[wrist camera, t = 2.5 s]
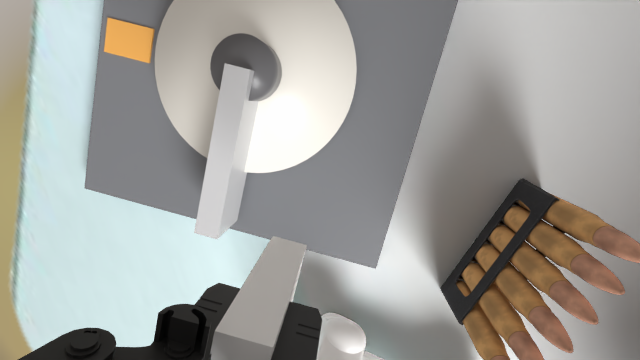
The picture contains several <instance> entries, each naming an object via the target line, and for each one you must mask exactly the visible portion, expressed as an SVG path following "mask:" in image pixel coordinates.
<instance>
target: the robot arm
mask: <svg viewBox="0 0 640 360" xmlns="http://www.w3.org/2000/svg"><path fill="white" fill-rule="evenodd" d="M306 247H307V245H305V244H301V243H297V242H294V241H290V240H286V239H282V238H279V237H275V236H273V237H272V238H271V240H270V242H269V243H268V245H267V246H266V248H265V250H264V251H263V253H262V255H261V256H260V258H259V260H258V261H257V263H256V264H255V266H254V268H253V269H252V271H251V273H250V274H249V276H248V277H247V279H246V281H245V282H244V284H243V286H242V287H241V289H239V288H236V287H232V286H229V285H225V284H221V283H218V284H216V285H214V286H212V287H210V288H208V289H207V290H206V291H205V292H204V294H203V295H202V296H201V297H200V299H199V300H198V301H197V302H196V304H195V305H190V304H177V305H173V306H170V307H166V308H165V309H163V310H162V311H160V312H159V313H158V319H157V325H156V331H155V337H154V342H153V343H152V344H151V345H150V346H146V347H116V341H115V337H114V336H113V335H112V334H111V333H110V332H109V331H106V330H103V329H100V328H83V329H78V330H74V331H71V332H69V333H66V334H64V335H62V336H60V337H58V338H56V339H55V340H53V341H51V342H49V343H47V344H46V345H44V346H42V347H40V348H38V349H37V350H35V351H33V352H31V353H29V354H27V355H26V356H24V357H22V358H20V359H19V360H316V359H317V352H318V345H319V338H320V331H321V325H322V318H321V315H320V313H319V311H318V309H316V308H312V307H309V306H305V305H301V304H298V303H294V302H293V298H294V294H295V290H296V286H297V282H298V278H299V275H300V271H301V267H302V263H303V259H304V255H305V251H306Z"/></svg>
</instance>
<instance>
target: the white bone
mask: <svg viewBox="0 0 640 360" xmlns="http://www.w3.org/2000/svg"><path fill="white" fill-rule="evenodd" d="M321 318H322V325H321V331H320V338H319V345H318V352H317V359H316V360H384V359H382V358H380V357H378V356H376V355H373V354H371V353H369V352H367V351H365V350H364V349H365V346H366V336H365V333H364V331H363V329H362V328H361V327H360V326H359V325H358V324H357V323H355V322H353V321H352V320H350V319H348V318H346V317H344V316H342V315H339V314H336V313H325V314H323V315H322V316H321Z"/></svg>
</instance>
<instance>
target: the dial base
mask: <svg viewBox="0 0 640 360" xmlns="http://www.w3.org/2000/svg"><path fill="white" fill-rule="evenodd" d="M173 1H174V0H104V7H103V16H102V26H101V36H100V45H99V55H98V64H97V74H96V83H95V93H94V103H93V112H92V122H91V131H90V141H89V151H88V160H87V170H86V179H85V189H89V190H93V191H96V192H100V193H103V194H107V195H111V196H114V197H118V198H122V199H125V200H129V201H132V202H136V203H140V204H143V205H147V206H151V207H154V208H158V209H161V210H165V211H169V212H172V213H176V214H180V215H183V216H187V217H190V218H194V219H197V214H198V209H199V203H200V198H201V192H202V187H203V181H204V175H205V170H206V164H207V158H206V157H204V156H203V155H201V154H200V153H198V152H197V151H196V150H195V149H194V148H192V147H191V146H190V145H189V144H188V143H187V142H186V141H185V140H184V139H183V137H182V136H181V135H180V134H179V133H178V131H177V130H176V128H175V127H174V126H173V124H172V122H171V121H170V119H169V117H168V115H167V114H166V111H165V109H164V107H163V104H162V102H161V99H160V95H159V92H158V88H157V83H156V77H155V48H156V42H157V37H158V33H159V30H160V27H161V24H162V21H163V19H164V17H165V15H166V12H167V10H168V8H169V7H170V5H171V4H172V2H173ZM335 2H336V4H337V5H338V7H339V8H340V10H341V11H342V13H343V15H344V17H345V19H346V21H347V24H348V26H349V29H350V32H351V35H352V38H353V42H354V47H355V53H356V66H357V73H356V85H355V91H354V96H353V99H352V102H351V105H350V108H349V111H348V113H347V115H346V117H345V119H344V121H343V123H342V125H341V126H340V128H339V129H338V131H337V132H336V134H335V135H334V136H333V137H332V138H331V140H330V141H329V142H328V143H327V144H326V145H325V146H324V147H323V148H322V149H321V150H319V151H318V152H317V153H316V154H314V155H313V156H311V157H310V158H309V159H307V160H305V161H303V162H301V163H299V164H297V165H295V166H293V167H290V168H287V169H284V170H280V171H275V172H268V173H249V172H247V175H246V180H245V185H244V190H243V195H242V199H241V204H240V209H239V214H238V219H237V221H236V222H235V223H234V224H233V225H232V226H231V227H230V229H234V230H237V231H241V232H245V233H248V234H252V235H256V236H259V237H263V238H266V239H270V240H271V238H272V237H273V236H275V237H279V238H282V239H286V240H290V241H294V242H297V243H301V244H305V245H307V247H306V250H310V251H314V252H317V253H321V254H324V255H328V256H332V257H335V258H339V259H343V260H346V261H350V262H353V263H357V264H361V265H364V266H368V267H372V268H375V269H376V266H377V263H378V259H379V256H380V253H381V250H382V246H383V243H384V240H385V237H386V233H387V230H388V227H389V224H390V220H391V217H392V214H393V211H394V207H395V204H396V201H397V197H398V194H399V191H400V188H401V184H402V181H403V178H404V175H405V171H406V168H407V165H408V162H409V158H410V155H411V152H412V149H413V145H414V142H415V139H416V136H417V132H418V129H419V126H420V123H421V119H422V116H423V113H424V110H425V106H426V103H427V100H428V96H429V93H430V90H431V87H432V83H433V80H434V77H435V74H436V70H437V67H438V64H439V61H440V57H441V54H442V51H443V48H444V44H445V41H446V38H447V35H448V31H449V28H450V25H451V22H452V18H453V15H454V12H455V8H456V5H457V2H458V0H335Z"/></svg>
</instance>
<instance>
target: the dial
mask: <svg viewBox="0 0 640 360" xmlns="http://www.w3.org/2000/svg"><path fill="white" fill-rule="evenodd" d="M356 73H357V66H356V53H355V47H354V42H353V38H352V35H351V32H350V29H349V26H348V24H347V21H346V19H345V17H344V15H343V13H342V11H341V10H340V8H339V7H338V5H337V4H336V2H335V0H174V1H173V2H172V4H171V5H170V7H169V8H168V10H167V12H166V15H165V17H164V19H163V21H162V24H161V27H160V30H159V33H158V37H157V42H156V48H155V77H156V83H157V88H158V92H159V95H160V99H161V102H162V104H163V107H164V109H165V111H166V114H167V115H168V117H169V119H170V121H171V122H172V124H173V126H174V127H175V128H176V130H177V131H178V133H179V134H180V135H181V136H182V137H183V139H184V140H185V141H186V142H187V143H188V144H189V145H190V146H191V147H192V148H194V149H195V150H196V151H197V152H198V153H200V154H201V155H203V156H204V157H206V158H207V164H206V170H205V175H204V181H203V187H202V192H201V198H200V203H199V209H198V214H197V220H196V225H195V231H194V233H197V234H200V235H204V236H207V237H211V238H215V239H218V238H219V237H220V236H221V235H222V234H223V233H224V232H225V231H227V230H228V229H229V228H230V227H231V226H232V225H233V224H234V223H235V222H236V221H237V219H238V214H239V209H240V204H241V199H242V195H243V190H244V185H245V180H246V175H247V172H249V173H268V172H275V171H280V170H284V169H287V168H290V167H293V166H295V165H297V164H299V163H301V162H303V161H305V160H307V159H309V158H310V157H311V156H313V155H314V154H316V153H317V152H318V151H319V150H321V149H322V148H323V147H324V146H325V145H326V144H327V143H328V142H329V141H330V140H331V138H332V137H333V136H334V135H335V134H336V132H337V131H338V129H339V128H340V126H341V125H342V123H343V121H344V119H345V117H346V115H347V113H348V111H349V108H350V105H351V102H352V99H353V96H354V91H355V85H356Z"/></svg>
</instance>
